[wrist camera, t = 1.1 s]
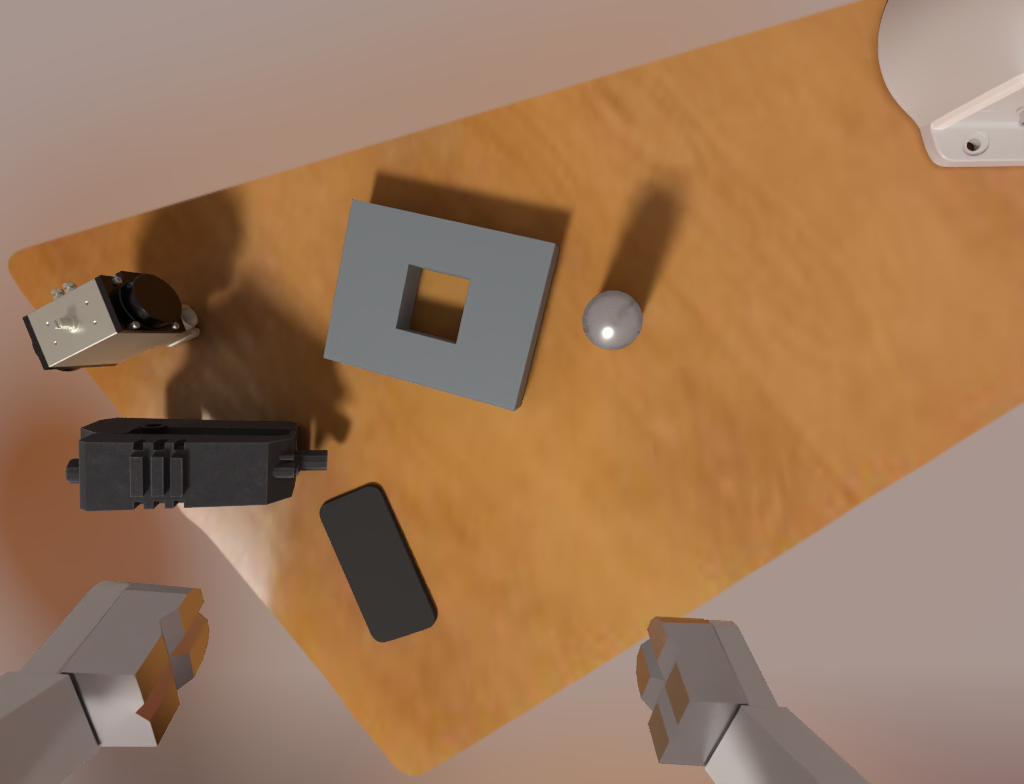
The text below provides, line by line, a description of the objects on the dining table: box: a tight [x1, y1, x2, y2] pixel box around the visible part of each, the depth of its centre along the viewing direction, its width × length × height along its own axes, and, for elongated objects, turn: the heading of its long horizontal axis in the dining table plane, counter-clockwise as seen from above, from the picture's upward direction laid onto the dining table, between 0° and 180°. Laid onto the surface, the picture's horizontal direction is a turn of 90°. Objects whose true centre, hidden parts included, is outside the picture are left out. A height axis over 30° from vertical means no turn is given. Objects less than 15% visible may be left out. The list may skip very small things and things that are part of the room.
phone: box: [320, 485, 437, 642], centre depth 50 cm, size 7×1×15 cm
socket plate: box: [323, 199, 559, 411], centre depth 45 cm, size 18×14×3 cm
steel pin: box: [582, 291, 643, 350], centre depth 39 cm, size 4×4×9 cm
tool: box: [66, 418, 328, 511], centre depth 47 cm, size 6×19×15 cm, turn 85°
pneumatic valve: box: [23, 271, 200, 371], centre depth 46 cm, size 6×12×12 cm, turn 112°
